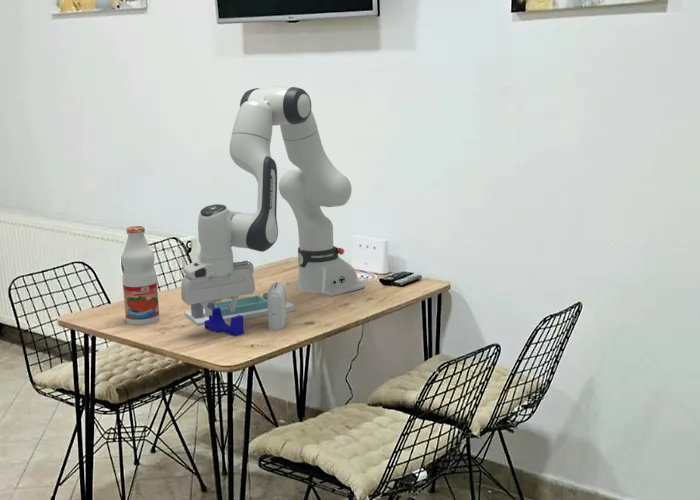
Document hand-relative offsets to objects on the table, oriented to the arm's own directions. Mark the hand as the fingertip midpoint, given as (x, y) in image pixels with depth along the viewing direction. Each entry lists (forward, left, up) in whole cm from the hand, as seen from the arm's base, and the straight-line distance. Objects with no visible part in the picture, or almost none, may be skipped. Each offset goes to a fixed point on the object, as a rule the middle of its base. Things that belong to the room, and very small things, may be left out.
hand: (220, 313), depth 231 cm
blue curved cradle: (0, +1, -6) cm, 6 cm away
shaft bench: (-11, -13, -5) cm, 18 cm away
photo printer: (-16, +3, -6) cm, 17 cm away
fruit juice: (+16, -20, -6) cm, 26 cm away
